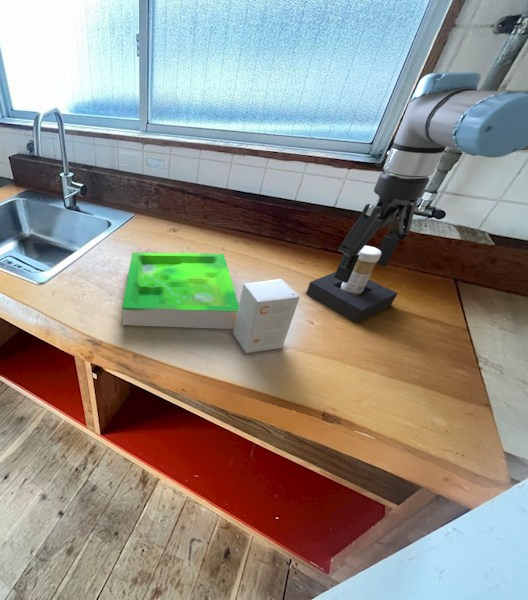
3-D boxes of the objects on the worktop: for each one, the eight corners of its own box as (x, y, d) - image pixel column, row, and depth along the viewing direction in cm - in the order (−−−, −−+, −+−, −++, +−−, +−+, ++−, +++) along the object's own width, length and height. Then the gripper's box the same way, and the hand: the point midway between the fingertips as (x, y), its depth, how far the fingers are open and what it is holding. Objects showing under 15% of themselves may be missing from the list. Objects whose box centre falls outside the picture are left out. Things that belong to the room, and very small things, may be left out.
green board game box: (221, 269, 90) (223, 253, 87) (236, 329, 70) (240, 311, 67) (132, 268, 93) (132, 252, 90) (123, 325, 73) (122, 307, 70)
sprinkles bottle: (350, 293, 79) (373, 244, 71) (361, 304, 75) (387, 254, 67) (331, 294, 79) (352, 245, 71) (342, 305, 75) (365, 255, 67)
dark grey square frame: (391, 305, 75) (398, 293, 73) (355, 323, 70) (362, 310, 68) (339, 279, 84) (344, 267, 82) (305, 293, 80) (310, 281, 77)
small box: (267, 328, 70) (282, 277, 62) (283, 348, 65) (301, 296, 57) (232, 333, 69) (242, 282, 61) (245, 354, 64) (258, 302, 56)
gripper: (421, 160, 67) (377, 251, 79) (342, 179, 58) (307, 278, 71) (465, 167, 61) (411, 264, 74) (385, 190, 53) (339, 295, 65)
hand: (360, 271), depth 72 cm, fingers open, 13 cm apart
